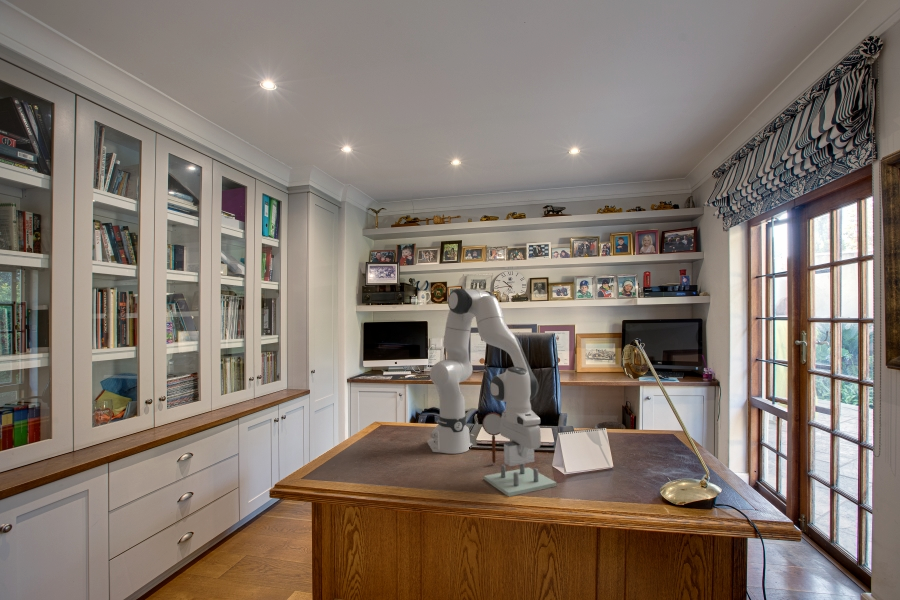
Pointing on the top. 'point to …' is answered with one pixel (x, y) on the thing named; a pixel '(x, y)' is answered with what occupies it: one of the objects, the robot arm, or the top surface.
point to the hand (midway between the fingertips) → (519, 455)
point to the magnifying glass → (492, 429)
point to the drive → (516, 454)
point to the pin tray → (519, 481)
